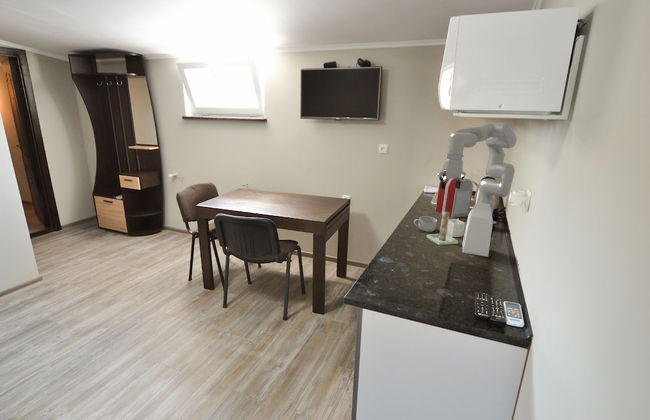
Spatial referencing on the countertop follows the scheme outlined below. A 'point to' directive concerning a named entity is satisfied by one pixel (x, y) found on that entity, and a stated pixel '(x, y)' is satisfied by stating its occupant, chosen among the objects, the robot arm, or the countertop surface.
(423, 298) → the countertop surface
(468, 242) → the milk
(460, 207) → the red and white block
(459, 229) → the open box
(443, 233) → the dowel
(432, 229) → the teacup
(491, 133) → the robot arm
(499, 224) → the countertop surface
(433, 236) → the tray
